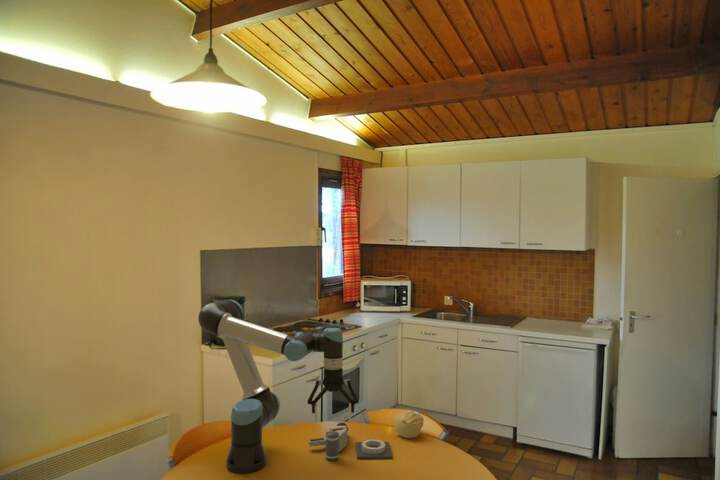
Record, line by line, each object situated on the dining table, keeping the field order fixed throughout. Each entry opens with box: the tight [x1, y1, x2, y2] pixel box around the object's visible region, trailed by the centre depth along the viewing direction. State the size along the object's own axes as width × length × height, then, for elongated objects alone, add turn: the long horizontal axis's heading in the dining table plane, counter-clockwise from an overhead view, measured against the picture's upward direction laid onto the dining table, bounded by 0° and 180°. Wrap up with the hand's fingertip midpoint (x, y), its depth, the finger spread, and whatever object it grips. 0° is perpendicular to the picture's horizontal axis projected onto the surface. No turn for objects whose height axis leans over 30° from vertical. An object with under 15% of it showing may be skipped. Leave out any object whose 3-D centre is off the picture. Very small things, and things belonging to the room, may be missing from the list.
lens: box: [325, 430, 340, 462], centre depth 197 cm, size 5×5×10 cm
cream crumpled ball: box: [394, 410, 424, 439], centre depth 221 cm, size 12×12×11 cm
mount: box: [355, 439, 393, 460], centre depth 204 cm, size 14×14×3 cm
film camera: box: [308, 422, 349, 453], centre depth 212 cm, size 7×19×15 cm
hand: (333, 420), depth 197 cm, fingers open, 13 cm apart
